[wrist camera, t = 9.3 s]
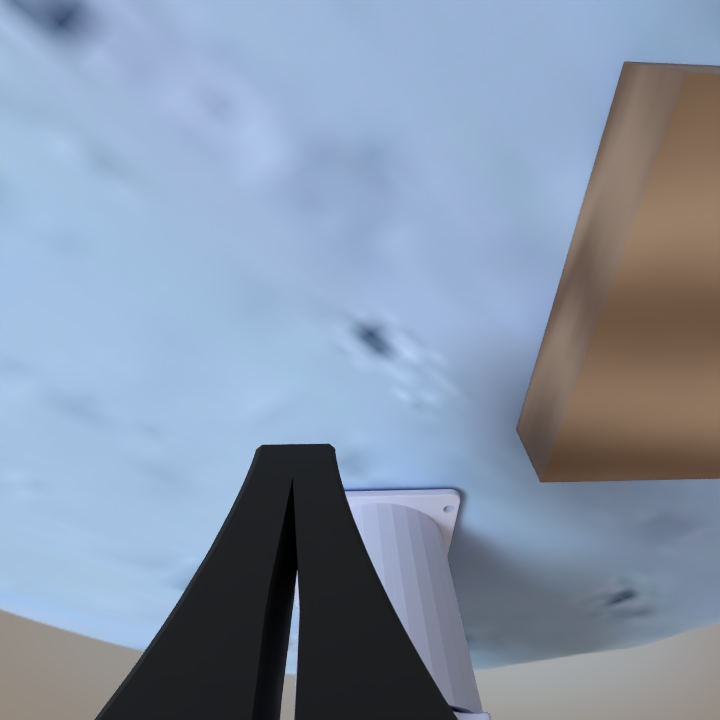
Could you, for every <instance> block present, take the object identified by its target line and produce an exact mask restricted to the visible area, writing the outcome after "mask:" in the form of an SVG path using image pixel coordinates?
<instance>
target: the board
mask: <svg viewBox="0 0 720 720" xmlns="http://www.w3.org/2000/svg"><path fill="white" fill-rule="evenodd" d="M516 430H517V432H518V435H519V437H520V439H521V441H522V443H523V445H524V448H525V450H526V452H527V454H528V456H529V458H530V461H531V463H532V465H533V467H534V469H535V471H536V473H537V476H538V478H539V480H540V482H579V481H626V480H672V479H718V478H720V66H711V65H688V64H666V63H643V62H624V64H623V68H622V71H621V75H620V78H619V81H618V85H617V88H616V92H615V95H614V98H613V102H612V105H611V109H610V112H609V115H608V119H607V122H606V126H605V129H604V133H603V136H602V139H601V143H600V146H599V150H598V153H597V156H596V160H595V163H594V167H593V170H592V173H591V177H590V180H589V184H588V187H587V190H586V194H585V197H584V201H583V204H582V208H581V211H580V214H579V218H578V221H577V225H576V228H575V231H574V235H573V238H572V242H571V245H570V248H569V252H568V255H567V259H566V262H565V266H564V269H563V272H562V276H561V279H560V283H559V286H558V289H557V293H556V296H555V300H554V303H553V306H552V310H551V313H550V317H549V320H548V324H547V327H546V330H545V334H544V337H543V341H542V344H541V347H540V351H539V354H538V358H537V361H536V364H535V368H534V371H533V375H532V378H531V381H530V385H529V388H528V392H527V395H526V399H525V402H524V405H523V409H522V412H521V416H520V419H519V422H518V426H517V429H516Z"/></svg>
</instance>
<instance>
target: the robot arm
mask: <svg viewBox="0 0 720 720" xmlns="http://www.w3.org/2000/svg"><path fill="white" fill-rule="evenodd" d="M459 505H460V496H459V493H458V492H457V491H456V490H453V489H434V490H389V491H344V488H343V485H342V481H341V478H340V474H339V470H338V465H337V460H336V454H335V448H334V447H332V446H331V445H330V444H286V445H262V446H260V447H259V448H258V449H256V452H255V455H254V458H253V461H252V464H251V466H250V469H249V471H248V474H247V476H246V478H245V481H244V483H243V485H242V487H241V490H240V492H239V494H238V496H237V498H236V500H235V502H234V504H233V506H232V508H231V510H230V512H229V514H228V516H227V518H226V520H225V522H224V523H223V525H222V527H221V529H220V531H219V533H218V535H217V537H216V539H215V540H214V542H213V544H212V546H211V548H210V550H209V551H208V553H207V555H206V557H205V558H204V560H203V562H202V563H201V565H200V566H199V568H198V570H197V571H196V573H195V575H194V576H193V578H192V580H191V581H190V583H189V585H188V586H187V588H186V590H185V591H184V593H183V595H182V596H181V598H180V600H179V601H178V603H177V604H176V606H175V607H174V609H173V610H172V612H171V613H170V615H169V617H168V618H167V620H166V621H165V623H164V624H163V626H162V627H161V629H160V630H159V632H158V633H157V635H156V636H155V637H154V639H153V640H152V642H151V643H150V645H149V646H148V648H147V649H146V650H145V652H144V653H143V655H142V656H141V658H140V659H139V661H138V662H137V663H136V665H135V666H134V668H133V669H132V670H131V672H130V673H129V675H128V676H127V677H126V679H125V680H124V681H123V682H122V684H121V685H120V686H119V688H118V689H117V690H116V692H115V693H114V694H113V696H112V697H111V698H110V700H109V701H108V702H107V704H106V705H105V706H104V708H103V709H102V711H101V712H100V713H99V714H98V716H97V717H96V719H95V720H280V711H281V700H282V692H283V683H284V675H285V667H286V659H287V651H288V643H289V635H290V627H291V619H292V610H293V602H294V594H295V602H296V607H297V608H298V636H297V663H296V691H295V719H294V720H491V716H490V713H488V712H483V711H482V706H481V702H480V698H479V693H478V689H477V685H476V680H475V676H474V671H473V667H472V663H471V658H470V654H469V650H468V645H467V641H466V637H465V632H464V628H463V624H462V619H461V615H460V611H459V606H458V602H457V598H456V593H455V589H454V585H453V580H452V576H451V572H450V567H449V563H448V558H447V556H448V552H449V548H450V544H451V539H452V535H453V531H454V526H455V522H456V518H457V514H458V509H459Z"/></svg>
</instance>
